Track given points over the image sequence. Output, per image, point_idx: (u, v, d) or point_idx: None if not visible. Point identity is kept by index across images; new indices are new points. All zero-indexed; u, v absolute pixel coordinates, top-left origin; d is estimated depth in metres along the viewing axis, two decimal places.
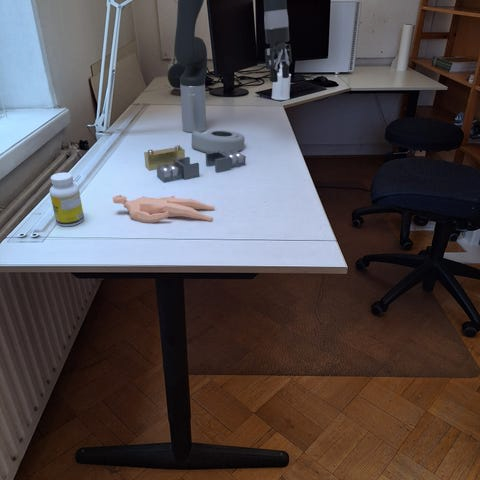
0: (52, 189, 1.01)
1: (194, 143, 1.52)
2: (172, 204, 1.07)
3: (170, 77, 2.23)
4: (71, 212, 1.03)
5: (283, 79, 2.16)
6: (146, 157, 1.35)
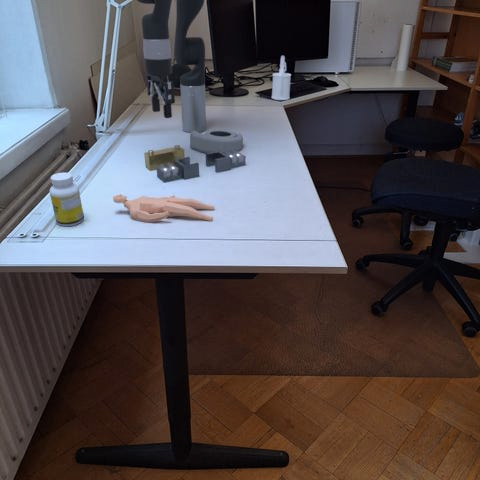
0: (52, 189, 1.01)
1: (192, 143, 1.52)
2: (172, 204, 1.08)
3: (170, 77, 2.23)
4: (71, 212, 1.03)
5: (283, 79, 2.16)
6: (146, 157, 1.35)
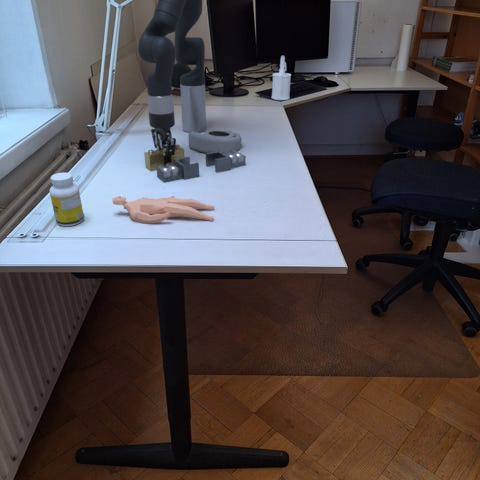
0: (52, 189, 1.01)
1: (191, 143, 1.52)
2: (173, 204, 1.07)
3: None
4: (71, 212, 1.03)
5: (283, 79, 2.16)
6: (147, 157, 1.35)
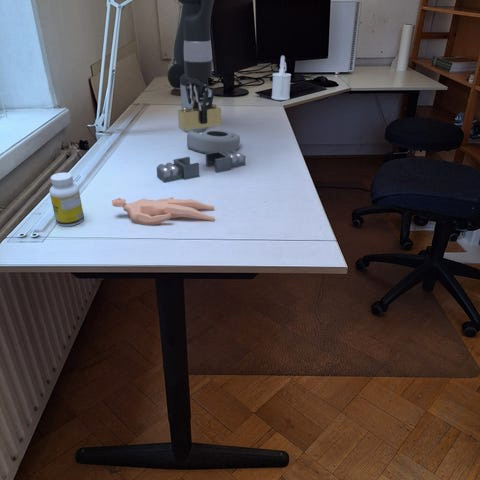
0: (52, 189, 1.01)
1: (189, 143, 1.52)
2: (173, 205, 1.07)
3: (170, 77, 2.23)
4: (71, 212, 1.03)
5: (283, 79, 2.16)
6: (181, 115, 1.25)
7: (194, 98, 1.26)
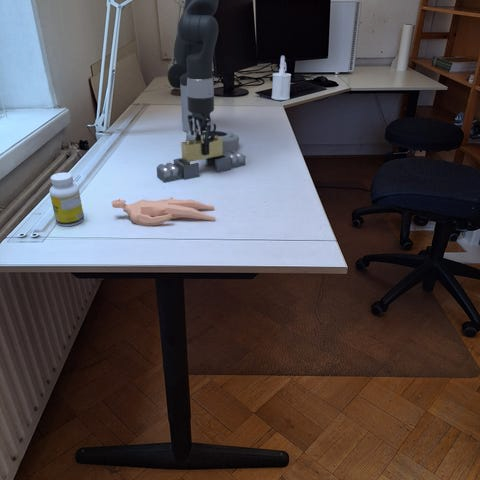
0: (52, 189, 1.01)
1: None
2: (174, 206, 1.07)
3: (170, 77, 2.23)
4: (71, 212, 1.03)
5: (283, 79, 2.16)
6: (184, 147, 1.29)
7: (197, 130, 1.31)
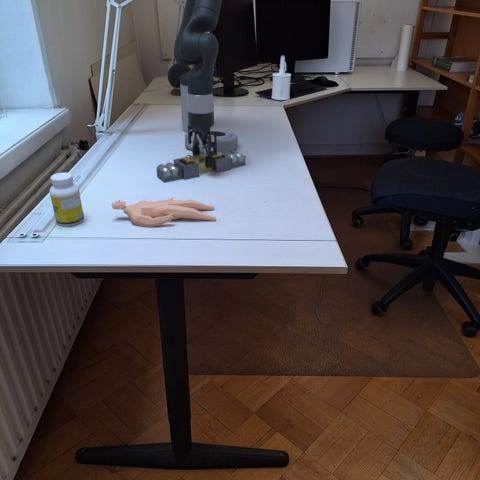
0: (52, 189, 1.01)
1: (187, 143, 1.52)
2: (174, 206, 1.06)
3: (170, 77, 2.23)
4: (71, 212, 1.03)
5: (283, 79, 2.16)
6: (184, 162, 1.32)
7: (195, 142, 1.34)
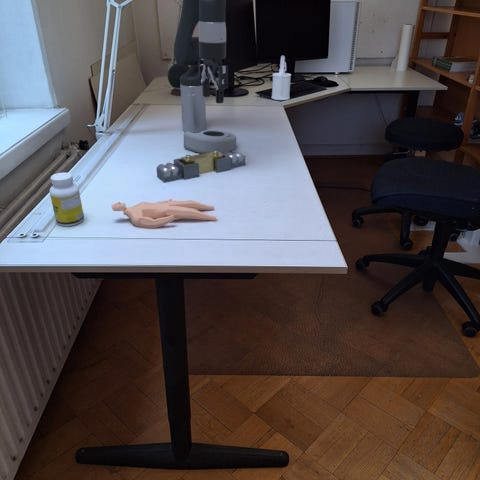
0: (52, 189, 1.01)
1: (186, 143, 1.52)
2: (175, 207, 1.06)
3: (170, 77, 2.23)
4: (71, 212, 1.03)
5: (283, 79, 2.16)
6: (184, 162, 1.32)
7: (205, 77, 1.29)
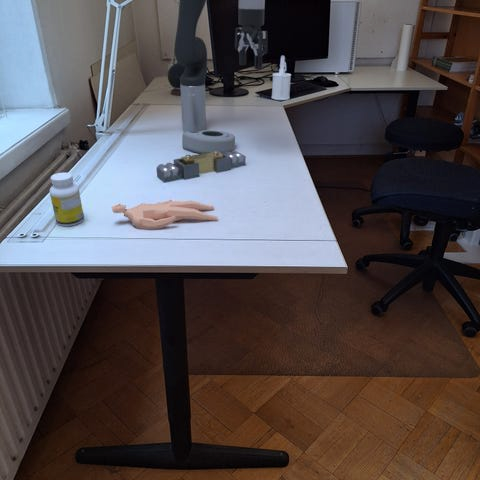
0: (52, 189, 1.01)
1: (184, 143, 1.52)
2: (176, 207, 1.06)
3: (170, 77, 2.23)
4: (71, 212, 1.03)
5: (283, 79, 2.16)
6: (183, 162, 1.32)
7: (243, 45, 1.34)
